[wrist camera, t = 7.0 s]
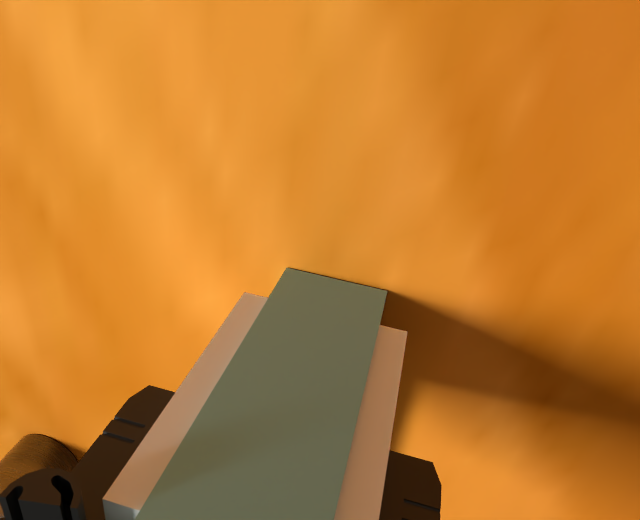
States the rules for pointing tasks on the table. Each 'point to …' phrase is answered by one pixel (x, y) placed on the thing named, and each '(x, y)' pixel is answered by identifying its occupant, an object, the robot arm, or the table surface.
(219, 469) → the teal bent bar
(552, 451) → the table surface
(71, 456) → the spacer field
